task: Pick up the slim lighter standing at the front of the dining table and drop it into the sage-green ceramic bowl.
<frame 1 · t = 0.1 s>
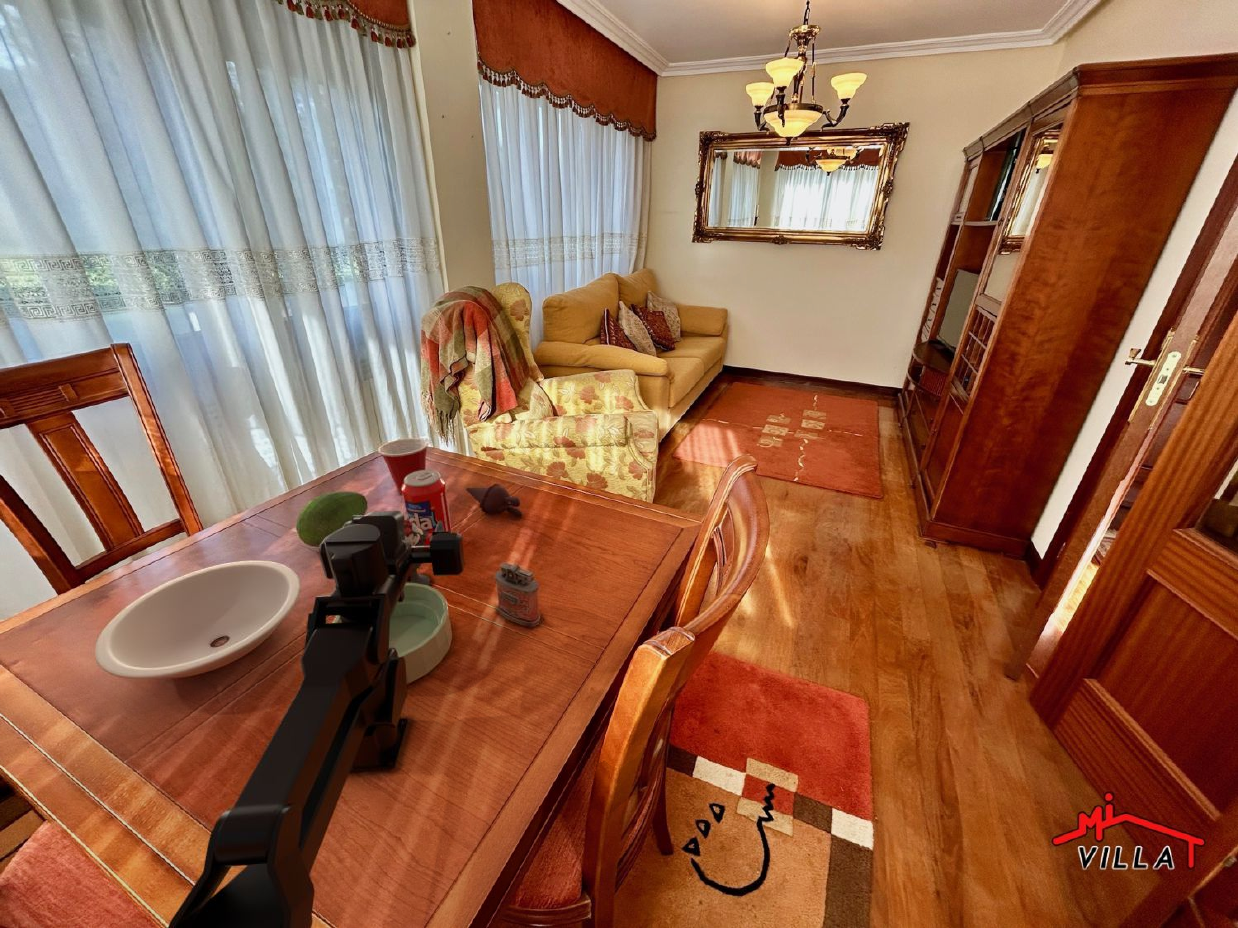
hand: (410, 523, 78), 17 cm above the table, tool horizontal, fingers open, 9 cm apart
plastic cup: (411, 490, 120), on the table
soda can: (433, 542, 102), on the table
icecream: (494, 512, 113), on the table
sundae: (416, 585, 90), on the table
fruit: (340, 537, 102), on the table
bowl: (397, 648, 77), on the table
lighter: (518, 615, 84), on the table
white sink basin: (221, 643, 77), on the table
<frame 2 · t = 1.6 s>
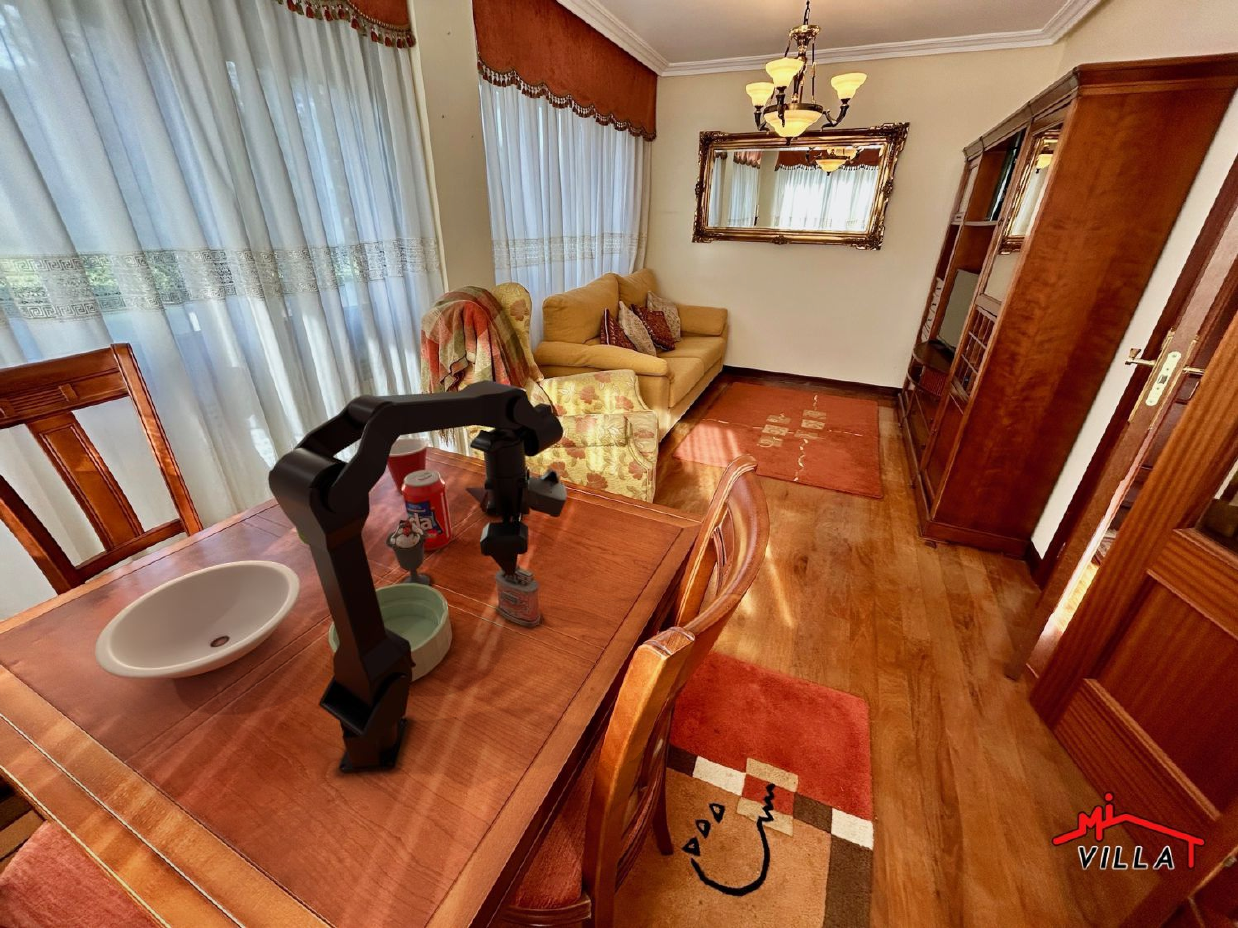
hand: (513, 556, 79), 12 cm above the table, tool pointing down, fingers open, 9 cm apart
nothing on the table moved.
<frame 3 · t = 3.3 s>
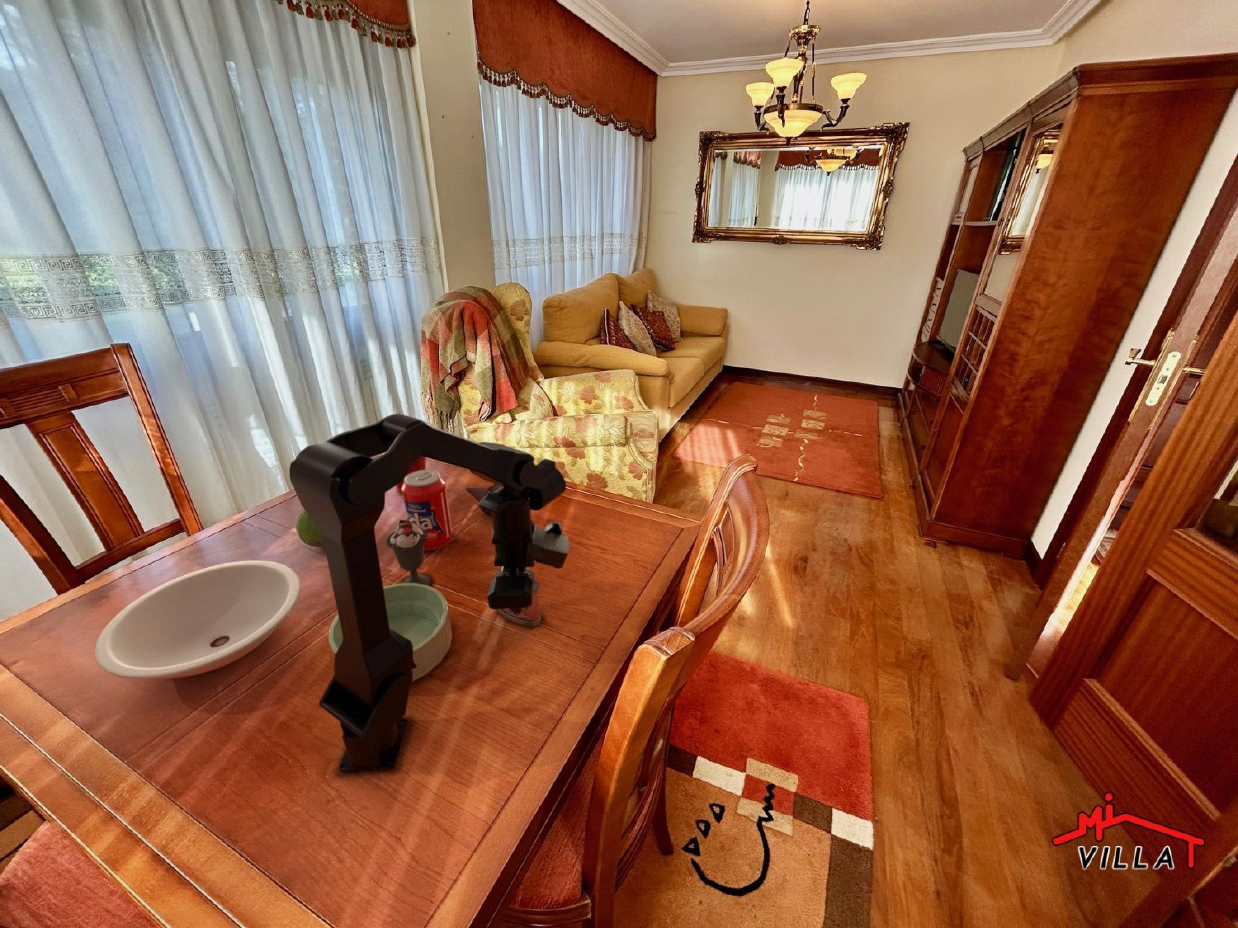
hand: (518, 602, 83), 3 cm above the table, tool pointing down, fingers closed on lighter, 5 cm apart
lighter: (519, 615, 84), on the table, touching gripper
everything else where it was.
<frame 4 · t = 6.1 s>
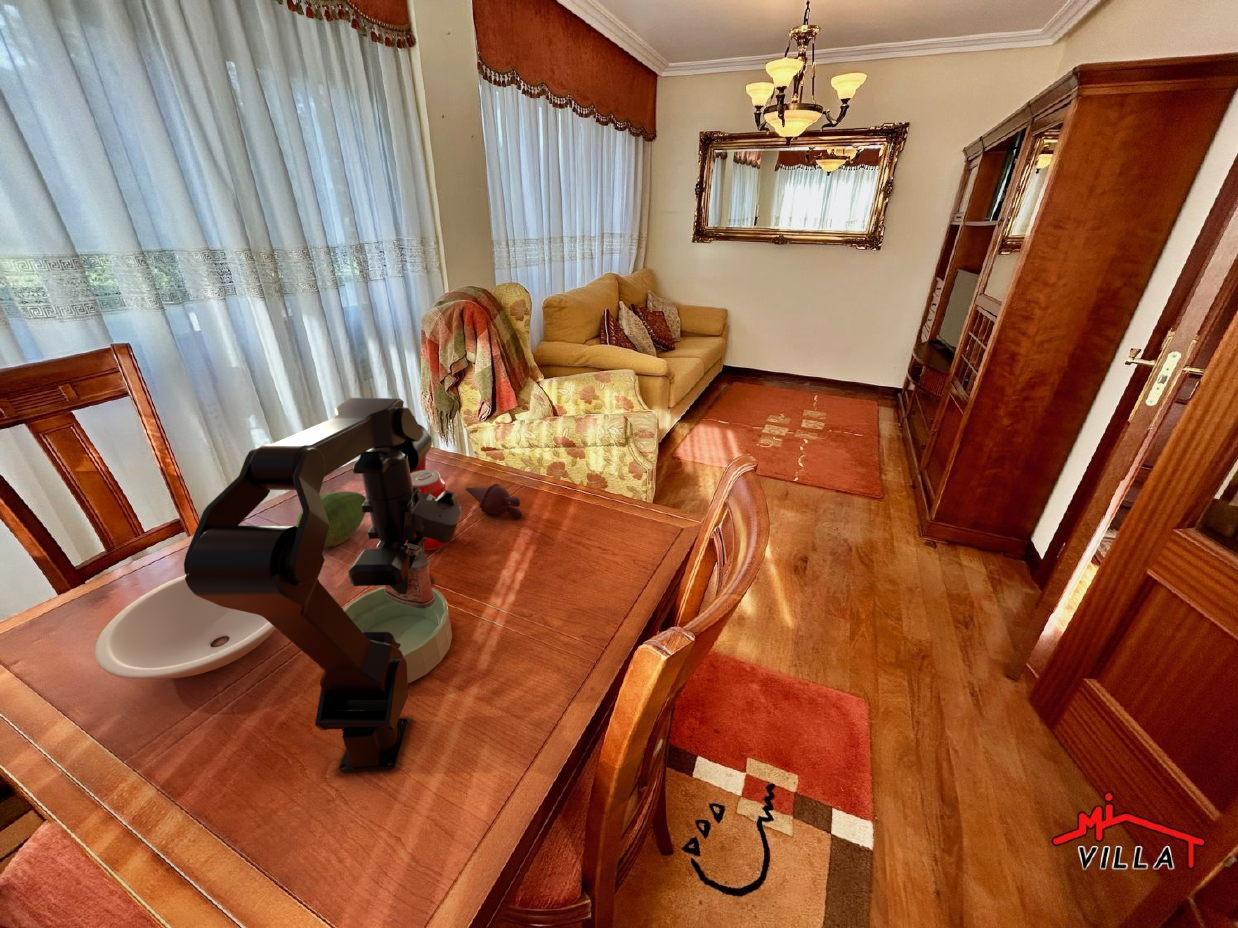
hand: (407, 583, 73), 12 cm above the table, tool pointing down, fingers closed on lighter, 4 cm apart
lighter: (410, 598, 74), point 9 cm above the table, touching gripper
everything else where it was.
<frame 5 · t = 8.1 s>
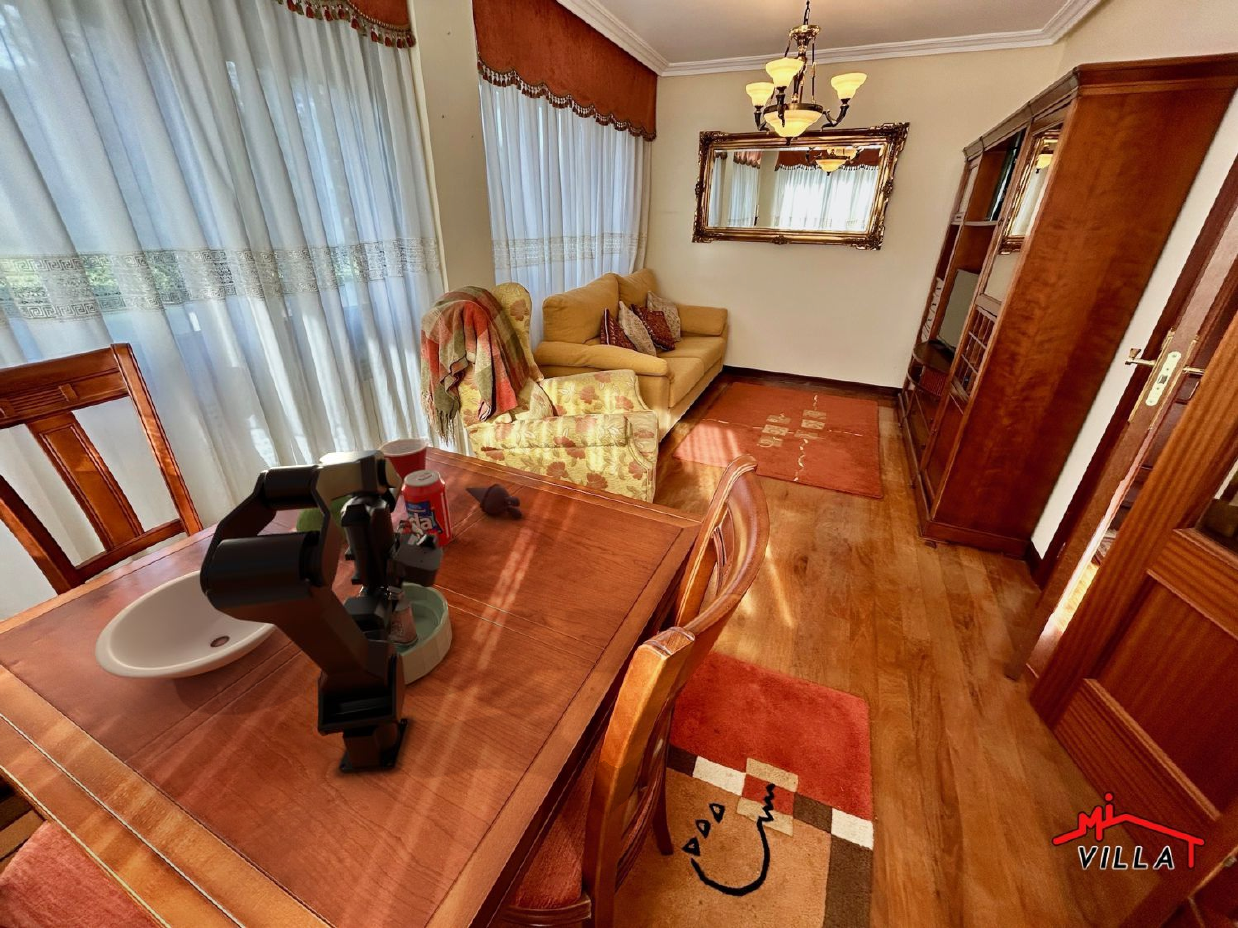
hand: (391, 623, 74), 5 cm above the table, tool pointing down, fingers closed on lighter, 4 cm apart
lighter: (394, 637, 76), point 2 cm above the table, touching gripper
everything else where it was.
when the fingers open (3 cm above the table, at t = 9.1 s): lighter stays where it is, resting on bowl.
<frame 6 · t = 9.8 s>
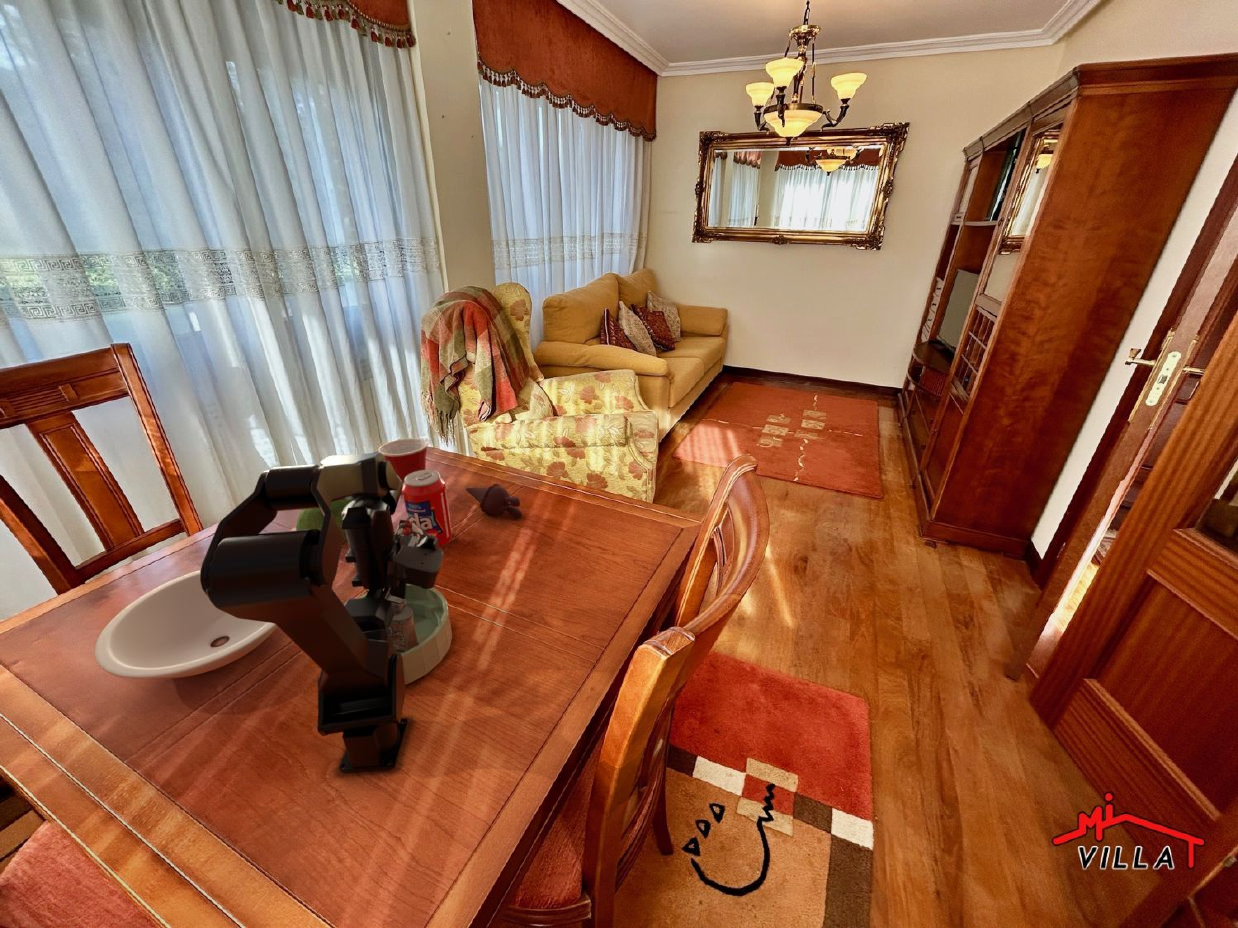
hand: (391, 625, 75), 5 cm above the table, tool pointing down, fingers open, 9 cm apart
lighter: (396, 646, 77), resting on bowl
everything else where it was.
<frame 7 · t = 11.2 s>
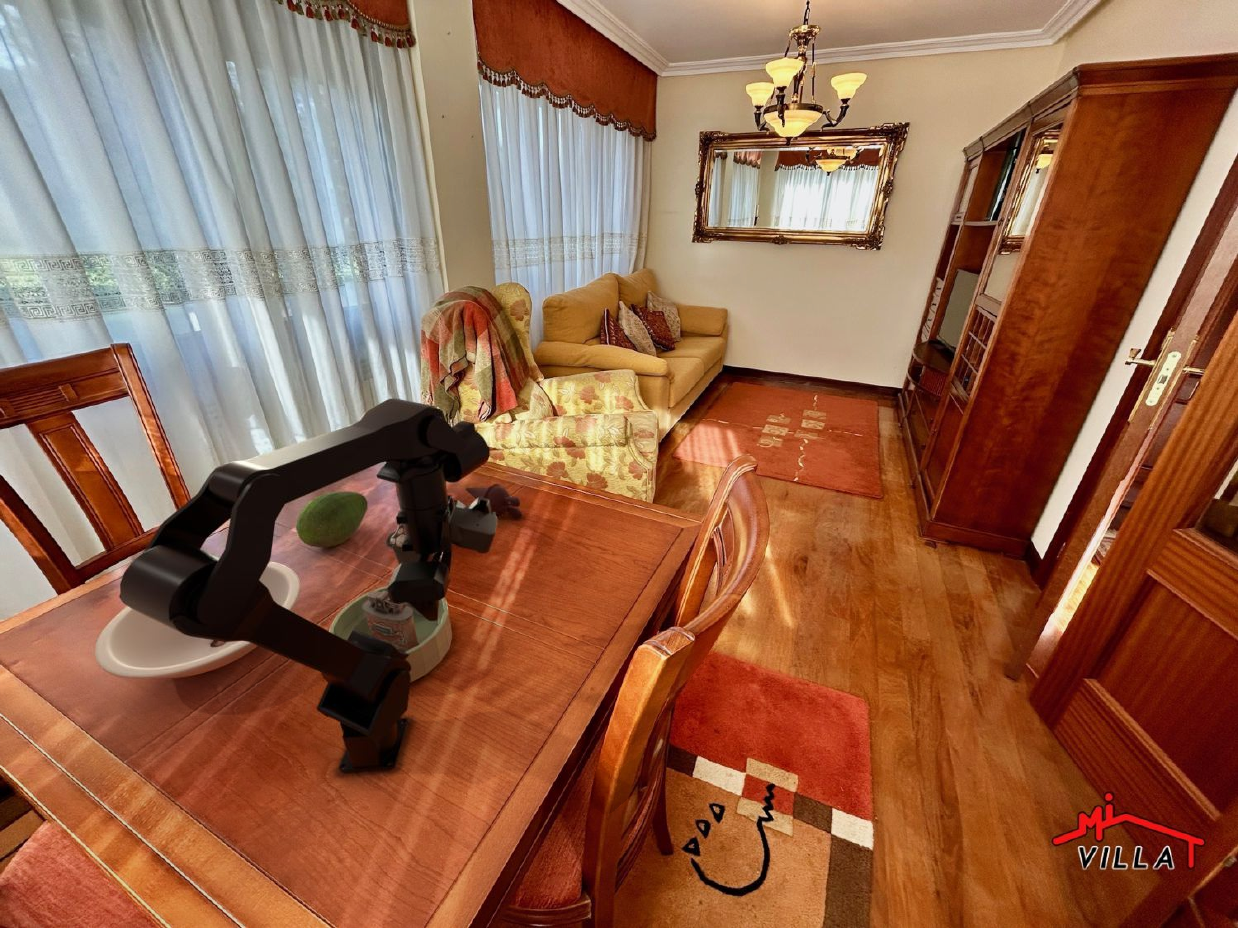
hand: (440, 595, 69), 13 cm above the table, tool pointing down, fingers open, 9 cm apart
nothing on the table moved.
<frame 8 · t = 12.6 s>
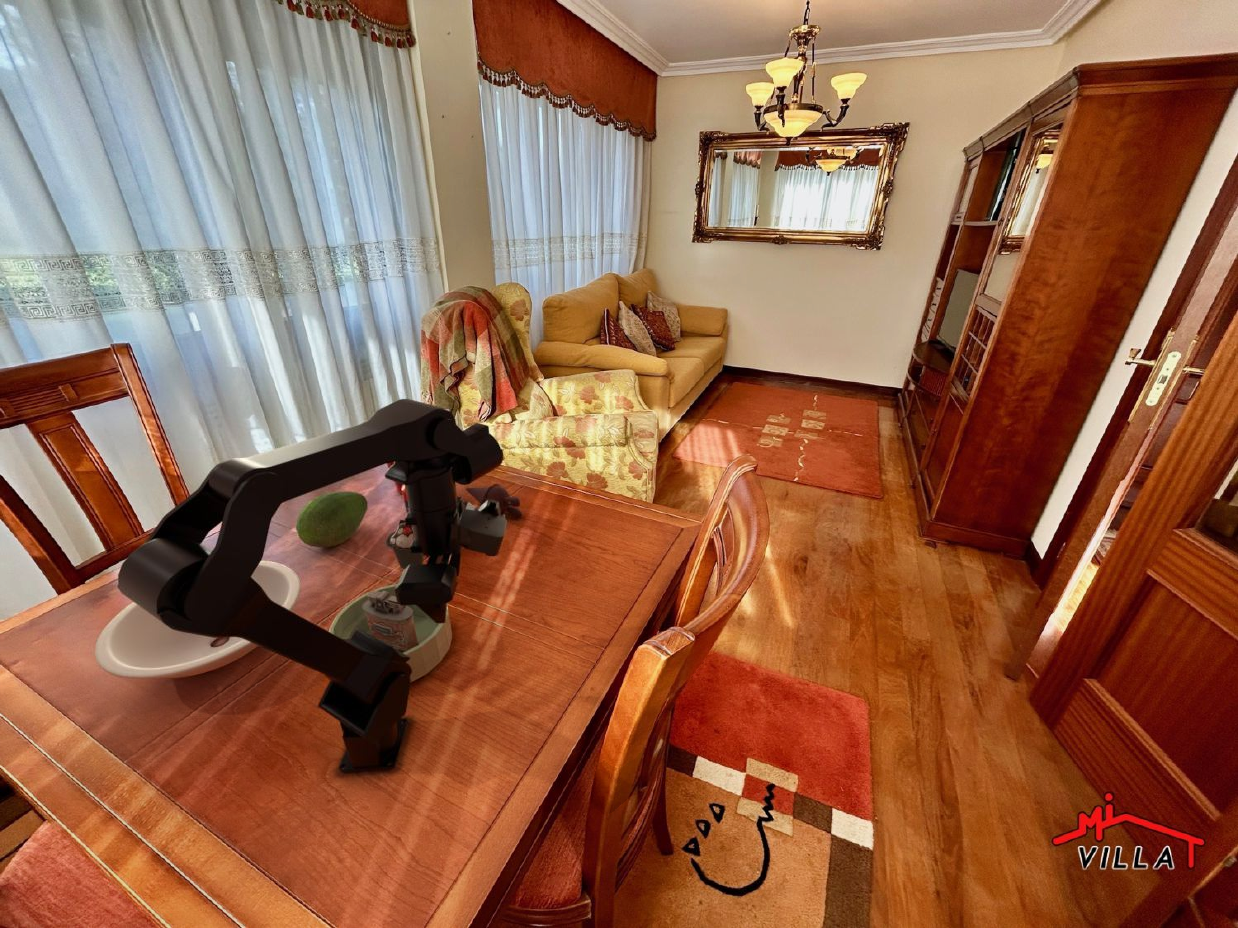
hand: (448, 597, 69), 13 cm above the table, tool pointing down, fingers open, 9 cm apart
nothing on the table moved.
at the end: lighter inside the target area in the bowl (0.1 cm from its centre), point 0.4 cm above the bowl's base; the gripper is holding nothing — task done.
